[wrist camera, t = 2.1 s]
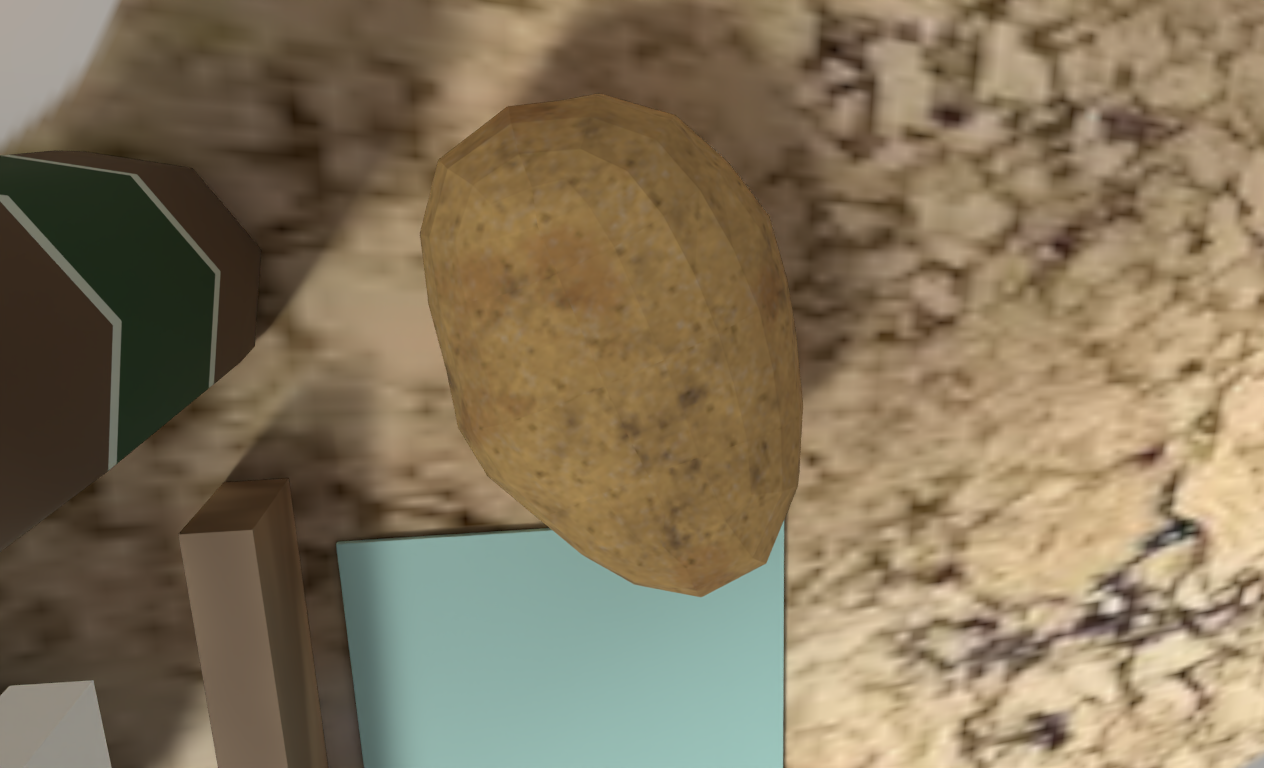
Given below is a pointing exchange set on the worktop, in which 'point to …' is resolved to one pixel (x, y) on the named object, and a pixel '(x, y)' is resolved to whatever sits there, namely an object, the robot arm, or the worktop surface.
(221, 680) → the corner arena
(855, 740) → the worktop surface
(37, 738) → the robot arm
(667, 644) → the pad
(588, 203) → the potato
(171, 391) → the beer bottle
